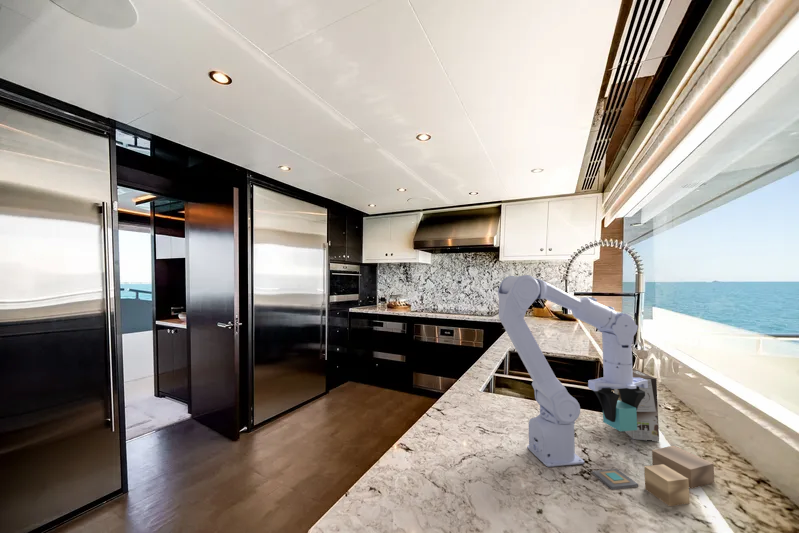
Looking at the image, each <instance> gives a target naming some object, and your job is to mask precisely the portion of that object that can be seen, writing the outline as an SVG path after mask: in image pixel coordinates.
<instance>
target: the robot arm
mask: <svg viewBox="0 0 799 533" xmlns="http://www.w3.org/2000/svg"><path fill="white" fill-rule="evenodd" d="M496 292H497V295H498V296H497V297H498V318H499V320H500V323H501V325H502V326H503V327H504V330H505V332H506V334H507V335H508V338H509V339H510V341H511V344H512V345H513V347H514V349H515V350H516V352H517V354H518V356H519V358H520V360H521V361H522V364H523V365H524V367H525V369H526V370H527V373H528V374H529V376H530V378H531V379H532V383H531V386H532V388H533V390H534V391H533V392H534V399H535V401H536V402H537V404H538V405H539V414H538V415H536V416H535V417H532V418H531V417H530V419H529V420H528V444H527V447H526V448H527V449H528V451H530V452H531V453H532V454H533V455H534V456H535V457H536V458H537V459H538V460H540V462H542V463H543V465H545V466H546V467H548V468H550V467H551V468H552V467H560V466H561V467H562V466H571V465H583V464H585V460H584V459H583V458H581V457H580V456H579V455H578V454H576V450H575V449H576V445H575V441H576V440H575V424H576V421H577V419H579V417H580V416H581V415H580V414H581V406H580V403H579V402H578V400H577V399H576V398H575V397H573V396H572V395H571V394H570V393H569V392H568V390H567V388H566V387H565V385H563V383H562V382H561V381H560V380H559V379H558V378H557V377H556V375H555V372H554V371H553V369H552V368H551V366H550V364H549V362H548V360H547V359H546V356H545V355H544V353H543V351H542V349H541V347H540V345H539V344H538V342H537V341H536V338H535V337H534V335H533V333H532V331H531V329H530V327H529V325H528V323H527V321H526V320H525V315H526V313H527V310H529V308H530V306H532V304H534V302H535V301H536V300H546V301H548V302H551V303H553V304H556V305H557V306H560V307H563V308H565V309H567V310H570V311H571V314H572V316H573V318H575V319H576V320H579V321H580V322H583V323H585V324H588V325H589V326H591V327H594V328H596V329H597V330H598V331H599V332H600V333H601V338H602V339H601V340H602V341H601V343H602V368H603V377H598V378H595V379H589V380H587V381H588V382H587V383H588V384H587V386H588V388H587V389H589V390H591V391H593V393H594V394H595V396H596V397H597V399H598V401H599V403H600V406H601V408H602V413H603V412H604V415H605V418H606V419H608V420H609V421H611V422H615V418H616V405H617V401H618V398H619V395H617V394H615V393H614V389H618V390H619V392H620V396H621V400H622V402H624V403H626V404H628V405H631V406H633V407H635V408H636V411H637V408H638V406H639V404H640V402H641V400H642V399H643V398H644V396H645V391H643V390H640V389H639V387H642V388H648V380H646V379H643V378H633V370H632V369H633V351H632V350H633V349H632V344H633V343H634V336H636V333H637V332H638V329H639V325H637V323H636V321H635V320H634V318H632V316H631V315H630V314H629V313H625V312H624V313H623V312H617V311H616V309H615V307H613V306H609V305H608V306H606V305H604V304H602V303H600V302H598V298H595V297H591V296H588V297H586V296H585V297H584V296H583V297H581V298H578V297H576V296H574V295H572V294H569V293H568V292H566V291H564V290H562V289H560V288H559V287H557V286H555V285H553V284H551V283H550V282H549V283H548V282H547V281H544V280H543V279H540V278H535V277H534V276H532V275H529V274H524V275H518V276H517V275H509V276H506V277H505V278H504V279H503V278H502V280H501V282H500V284H499V286H498V289H497V291H496Z"/></svg>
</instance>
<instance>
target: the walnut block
mask: <svg viewBox="0 0 799 533" xmlns="http://www.w3.org/2000/svg"><path fill="white" fill-rule="evenodd" d="M651 457H652V458H651V459H652V460H651V462H652V465H661V464H664V465H665V466H667V467H669V468H671V469H672V470H674V471H676V472H677V473H679V474H681V475H683V476H684V477H686V478H688V481H689V489H690V490H692V489H696V488H698V487H702V486H707V485H710V484H714V483H715V467H714V465H715V464H714V463H713V462H711V461H709V460H706V459H704V458H702V457H700V456H698V455H695V454H693V453H692V452H689V451H687V450H685V449H682V448H680V447H677V445H670V446H666V447H660V448H656V449H655V448H654V449H651Z"/></svg>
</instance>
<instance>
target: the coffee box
mask: <svg viewBox="0 0 799 533" xmlns="http://www.w3.org/2000/svg"><path fill="white" fill-rule="evenodd" d="M632 370H633V378H643V379H646V380H648V388H642V387H639V389H640V390H643V391H645V396H644V398H643V399H642V400H641V402H640V404H639V406H638V408H637V411H636V412H637V430H632V431H624V433H626V434H627V435H628V436H629V437H630V438H631V439H633V440H638V441H639V440H641V441H647V440H652V441H651V442H656V441H659V442H660V431H659V430H660V429H659V426H660V425H659V409H658V408H659V407H658V406H659V405H658V403H659V402H658V385H657V382H658V380H657V378H655V377H654V376H651V375H649V374H647V373H645V372H642V371H641V370H639V369H633V368H632ZM613 393H615V394H617V395H619V398H618V400H619V401H622V400H621V396H620V392H619V390H618V389H613Z"/></svg>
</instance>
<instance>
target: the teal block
mask: <svg viewBox="0 0 799 533" xmlns="http://www.w3.org/2000/svg"><path fill="white" fill-rule="evenodd" d="M602 422H603V423H604V424H606V425H608V426H610V427H611V428H613V429H615V430H617V431H619V432H625V431H632V430H637V412H636V408H635V407H633V406H631V405H628V404H626V403H624V402H622V401H619V400H618V401H617V405H616V418H615V422H611V421H609V420H608V419H606V418H605V415H604V412H603V411H602Z"/></svg>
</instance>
